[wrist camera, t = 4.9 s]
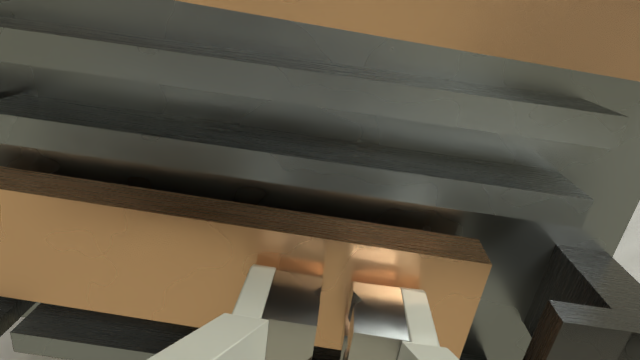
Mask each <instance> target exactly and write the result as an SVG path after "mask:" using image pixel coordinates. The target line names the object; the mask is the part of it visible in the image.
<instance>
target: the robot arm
mask: <svg viewBox="0 0 640 360" xmlns="http://www.w3.org/2000/svg"><path fill="white" fill-rule="evenodd" d="M322 280H323V276H321V275H315V274H310V273H304V272H298V271H293V270H287V269H281V268H277V269H276V268H275V267H269V266H263V265H256V264H253V265H252V266H251V267H250V269H249V272H248V274H247V277H246V279H245V282H244V284H243V287H242V289H241V292H240V294H239V297H238V299H237V302H236V304H235V307H234V309H233V312H232V314H228V313H223V314H222V315H220V316H218V317H217V318H215V319H213V320H212V321H210V322H208V323H207V324H205V325H203V326H202V327H200V328H198V329H197V330H195V331H193V332H192V333H190V334H189V335H187V336H185V337H184V338H182V339H180V340H179V341H177V342H175V343H174V344H172V345H170V346H169V347H167V348H165V349H164V350H162V351H160V352H159V353H157V354H155V355H154V356H152V357H150V358H149V359H147V360H311V358H312V356H313V349H314V342H315V336H316V329H317V322H318V314H319V306H320V295H321V289H322ZM340 360H459V359H458V358H457V357H456V356H455V355H454V354H453V353H452V352H451V351H450V350H449V349H448V348H445V347H440V345H439V341H438V337H437V333H436V330H435V326H434V322H433V318H432V314H431V310H430V307H429V303H428V299H427V295H426V292H425V291H424V290H420V289H412V288H403V287H392V286H384V285H377V284H370V283H363V282H356V281H352V284H351V288H350V292H349V300H348V312H347V313H346V314H345V319H344V325H343V331H342V338H341V349H340Z"/></svg>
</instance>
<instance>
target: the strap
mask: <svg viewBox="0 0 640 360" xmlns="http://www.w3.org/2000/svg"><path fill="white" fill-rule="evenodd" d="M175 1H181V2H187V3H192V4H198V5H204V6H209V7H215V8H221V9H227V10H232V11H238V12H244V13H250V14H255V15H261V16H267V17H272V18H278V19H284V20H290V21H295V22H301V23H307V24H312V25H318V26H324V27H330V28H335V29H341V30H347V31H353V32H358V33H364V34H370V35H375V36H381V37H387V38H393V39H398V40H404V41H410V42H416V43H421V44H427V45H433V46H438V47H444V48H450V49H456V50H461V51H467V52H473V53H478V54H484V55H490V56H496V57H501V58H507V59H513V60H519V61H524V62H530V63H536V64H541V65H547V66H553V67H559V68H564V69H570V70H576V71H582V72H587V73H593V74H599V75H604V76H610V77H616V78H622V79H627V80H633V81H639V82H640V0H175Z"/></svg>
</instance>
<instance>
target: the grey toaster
mask: <svg viewBox="0 0 640 360" xmlns="http://www.w3.org/2000/svg"><path fill="white" fill-rule="evenodd" d="M0 166H3V167H10V168H16V169H23V170H29V171H36V172H43V173H49V174H56V175H62V176H69V177H75V178H82V179H88V180H95V181H102V182H108V183H115V184H121V185H128V186H134V187H141V188H147V189H154V190H161V191H167V192H174V193H180V194H187V195H193V196H200V197H206V198H213V199H220V200H226V201H233V202H239V203H246V204H252V205H259V206H265V207H272V208H279V209H285V210H292V211H298V212H305V213H311V214H318V215H325V216H331V217H338V218H344V219H351V220H357V221H364V222H370V223H377V224H384V225H390V226H397V227H403V228H410V229H416V230H423V231H429V232H436V233H443V234H449V235H456V236H462V237H469V238H475V239H479V241H480V243H481V244H482V246H483V248H484V250H485V252H486V254H487V256H488V258H489V260H490V261H491V263H492V267H491V270H490V273H489V276H488V279H487V281H486V284H485V287H484V290H483V293H482V296H481V299H480V302H479V304H478V307H477V310H476V313H475V316H474V319H473V322H472V324H471V327H470V330H469V333H468V336H467V339H466V342H465V345H464V347H463V350H462V353H461V356H460V359H459V360H640V284H639V283H638V282H637V281H636V280H635V279H634V278H633V277H632V276H631V275H630V274H629V273H628V272H627V271H626V270H625V269H624V268H623V267H622V266H621V265H620V264H619V263H618V262H616V261H615V260H614V259H613V258H612V257H613V255H614V252H615V250H616V248H617V246H618V244H619V242H620V240H621V238H622V236H623V234H624V232H625V229H626V227H627V225H628V223H629V221H630V219H631V217H632V215H633V213H634V211H635V209H636V207H637V204H638V202H639V200H640V82H639V81H633V80H627V79H622V78H616V77H610V76H604V75H599V74H593V73H587V72H582V71H576V70H570V69H564V68H559V67H553V66H547V65H541V64H536V63H530V62H524V61H519V60H513V59H507V58H501V57H496V56H490V55H484V54H478V53H473V52H467V51H461V50H456V49H450V48H444V47H438V46H433V45H427V44H421V43H416V42H410V41H404V40H398V39H393V38H387V37H381V36H375V35H370V34H364V33H358V32H353V31H347V30H341V29H335V28H330V27H324V26H318V25H312V24H307V23H301V22H295V21H290V20H284V19H278V18H272V17H267V16H261V15H255V14H250V13H244V12H238V11H232V10H227V9H221V8H215V7H209V6H204V5H198V4H192V3H187V2H181V1H175V0H0ZM20 317H26V318H25V319H24V320H23V321H22V322H21V323H19V324H18V325H17V326H16V327H15V328H14V329H13V330H12V331H11V332H10V334H11V339H12V344H13V349H14V351H15V352H22V353H28V354H35V355H42V356H49V357H56V358H62V359H69V360H147V359H149V358H150V357H152V356H154V355H155V354H157V353H159V352H160V351H162V350H164V349H165V348H167V347H169V346H170V345H172V344H174V343H175V342H177V341H179V340H180V339H182V338H184V337H185V336H187V335H189V334H190V333H192V332H193V331H195V330H197V329H198V327H191V326H185V325H179V324H173V323H166V322H160V321H154V320H147V319H141V318H135V317H128V316H122V315H116V314H109V313H103V312H97V311H90V310H84V309H78V308H72V307H65V306H59V305H53V304H46V303H40V302H34V301H27V300H21V299H15V298H8V297H2V296H0V337H1V336H2V335H3V334H4V333H5V332H6V331H7V330H8V329H9V328H10V327H11V326H12V325H13V324H14V323H15V322H16V321H17V320H18V319H19V318H20ZM311 360H340V350H337V349H330V348H324V347H318V346H314V349H313V356H312V358H311Z"/></svg>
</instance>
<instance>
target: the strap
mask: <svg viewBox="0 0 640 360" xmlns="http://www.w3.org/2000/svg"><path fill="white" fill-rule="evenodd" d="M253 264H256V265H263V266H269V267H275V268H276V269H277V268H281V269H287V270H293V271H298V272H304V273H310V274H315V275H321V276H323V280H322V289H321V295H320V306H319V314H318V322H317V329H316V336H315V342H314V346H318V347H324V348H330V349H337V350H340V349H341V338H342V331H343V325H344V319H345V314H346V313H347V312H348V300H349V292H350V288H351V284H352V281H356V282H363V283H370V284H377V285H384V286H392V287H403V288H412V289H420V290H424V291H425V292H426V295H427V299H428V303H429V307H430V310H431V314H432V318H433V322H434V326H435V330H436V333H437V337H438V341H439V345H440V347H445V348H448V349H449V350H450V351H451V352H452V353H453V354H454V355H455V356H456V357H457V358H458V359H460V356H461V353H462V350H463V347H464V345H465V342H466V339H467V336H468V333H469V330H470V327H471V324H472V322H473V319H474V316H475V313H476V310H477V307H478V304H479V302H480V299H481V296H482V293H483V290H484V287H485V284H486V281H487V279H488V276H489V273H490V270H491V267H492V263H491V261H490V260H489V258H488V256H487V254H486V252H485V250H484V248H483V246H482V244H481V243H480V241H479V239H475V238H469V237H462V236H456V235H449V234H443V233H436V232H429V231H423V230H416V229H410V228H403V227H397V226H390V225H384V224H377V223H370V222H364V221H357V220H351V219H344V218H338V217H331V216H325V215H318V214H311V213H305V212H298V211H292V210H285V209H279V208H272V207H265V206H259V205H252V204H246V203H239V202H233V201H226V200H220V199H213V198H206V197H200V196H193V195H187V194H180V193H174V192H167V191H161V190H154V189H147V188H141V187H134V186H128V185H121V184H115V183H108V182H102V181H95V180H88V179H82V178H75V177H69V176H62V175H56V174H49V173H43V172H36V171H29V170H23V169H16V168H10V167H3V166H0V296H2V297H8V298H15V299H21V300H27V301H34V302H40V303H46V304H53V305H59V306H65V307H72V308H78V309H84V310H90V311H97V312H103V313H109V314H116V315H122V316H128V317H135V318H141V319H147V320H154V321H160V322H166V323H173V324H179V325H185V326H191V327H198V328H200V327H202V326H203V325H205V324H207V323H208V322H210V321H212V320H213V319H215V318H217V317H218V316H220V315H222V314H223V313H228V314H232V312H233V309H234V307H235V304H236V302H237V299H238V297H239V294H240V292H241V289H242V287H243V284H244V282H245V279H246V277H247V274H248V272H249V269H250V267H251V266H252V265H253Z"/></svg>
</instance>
